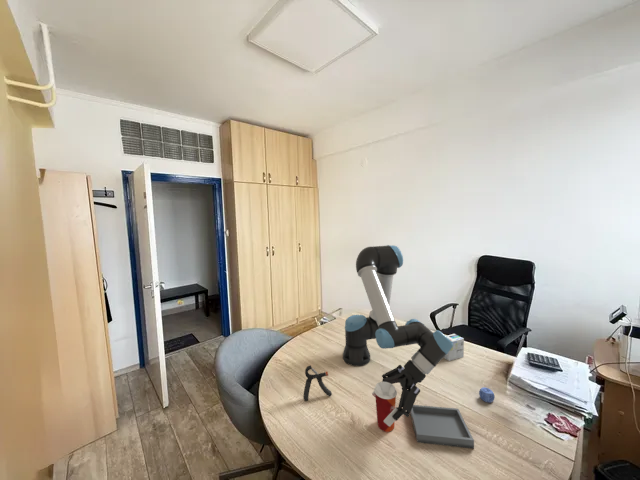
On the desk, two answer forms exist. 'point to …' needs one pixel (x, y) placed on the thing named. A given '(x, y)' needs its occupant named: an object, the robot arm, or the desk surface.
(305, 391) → the hand grip strengthener
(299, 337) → the desk surface
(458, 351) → the light bulb box
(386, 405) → the coffee cup
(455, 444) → the tray
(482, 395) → the decorative dice
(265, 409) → the desk surface
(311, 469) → the desk surface
